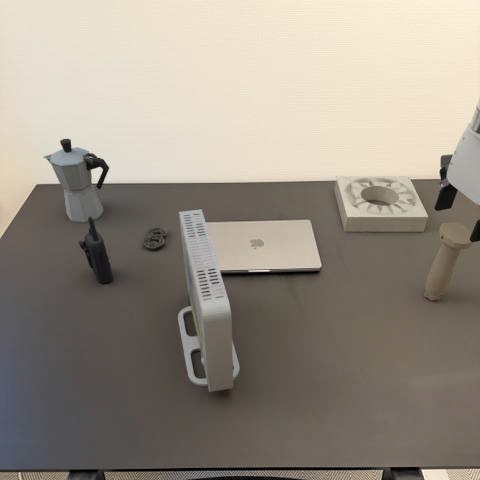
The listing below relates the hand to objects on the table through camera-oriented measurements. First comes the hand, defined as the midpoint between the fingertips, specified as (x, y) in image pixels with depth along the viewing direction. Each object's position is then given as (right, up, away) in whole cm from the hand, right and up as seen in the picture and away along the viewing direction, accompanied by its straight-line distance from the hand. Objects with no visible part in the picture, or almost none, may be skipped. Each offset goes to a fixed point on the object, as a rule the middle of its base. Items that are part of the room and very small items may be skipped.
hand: (459, 223), depth 80 cm
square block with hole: (-4, +10, +34) cm, 35 cm away
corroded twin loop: (-56, +1, +25) cm, 62 cm away
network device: (-43, -21, +4) cm, 48 cm away
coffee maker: (-73, +9, +33) cm, 81 cm away
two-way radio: (-66, -8, +17) cm, 68 cm away
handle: (0, -12, +12) cm, 17 cm away
